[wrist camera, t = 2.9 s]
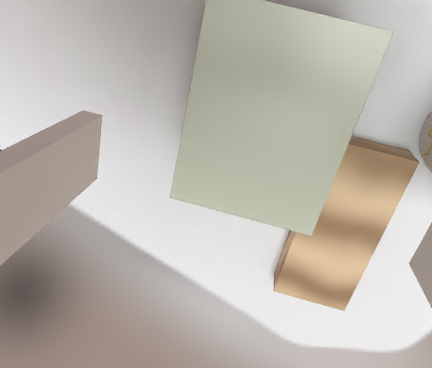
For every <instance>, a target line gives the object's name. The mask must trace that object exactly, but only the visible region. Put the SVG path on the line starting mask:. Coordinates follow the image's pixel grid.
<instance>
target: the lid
mask: <svg viewBox="0 0 432 368" xmlns="http://www.w3.org/2000/svg"><path fill="white" fill-rule="evenodd" d="M392 34H393V31H388V30H384V29H380V28H376V27H372V26H368V25H364V24H360V23H355V22H351V21H347V20H343V19H339V18H335V17H331V16H327V15H322V14H318V13H314V12H310V11H306V10H302V9H298V8H294V7H289V6H285V5H281V4H277V3H273V2H269V1H265V0H206V3H205V8H204V14H203V19H202V25H201V30H200V36H199V41H198V47H197V52H196V57H195V63H194V68H193V74H192V79H191V85H190V90H189V96H188V101H187V106H186V112H185V117H184V123H183V128H182V134H181V139H180V145H179V150H178V155H177V161H176V166H175V172H174V177H173V183H172V188H171V194H170V198H173V199H177V200H181V201H184V202H188V203H192V204H195V205H199V206H203V207H206V208H210V209H214V210H217V211H221V212H225V213H228V214H232V215H236V216H240V217H243V218H247V219H251V220H254V221H258V222H262V223H265V224H269V225H273V226H276V227H280V228H284V229H287V230H291V231H295V232H299V233H302V234H306V235H310V236H312V233H313V231H314V228H315V226H316V223H317V221H318V218H319V216H320V213H321V211H322V208H323V206H324V203H325V201H326V198H327V196H328V193H329V191H330V188H331V186H332V183H333V181H334V178H335V176H336V173H337V171H338V168H339V166H340V163H341V161H342V158H343V156H344V153H345V151H346V148H347V146H348V143H349V141H350V138H351V136H352V134H353V131H354V129H355V126H356V124H357V121H358V119H359V116H360V114H361V111H362V109H363V106H364V104H365V101H366V99H367V96H368V94H369V91H370V89H371V86H372V84H373V81H374V79H375V76H376V74H377V71H378V69H379V66H380V64H381V61H382V59H383V56H384V54H385V51H386V49H387V46H388V44H389V41H390V39H391V36H392Z"/></svg>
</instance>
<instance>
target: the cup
mask: <svg viewBox="0 0 432 368" xmlns="http://www.w3.org/2000/svg"><path fill="white" fill-rule="evenodd" d="M419 149H420V154H421V157H422V159H423V161H424V163H425V165H426V166H427V167H428V168H429V170H430V171H431V172H432V112H431V113H430V115H429V116H428V118H427V119H426V121H425V123H424V125H423V127H422V130H421V134H420V139H419Z"/></svg>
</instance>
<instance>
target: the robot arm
mask: <svg viewBox="0 0 432 368" xmlns="http://www.w3.org/2000/svg"><path fill="white" fill-rule="evenodd" d="M101 124H102V115H99V114H95V113H91V112H87V111H84V110H83V111H81V112H79V113H77V114H75V115H73V116H71V117H69V118H67V119H65V120H63V121H61V122H59V123H57V124H55V125H53V126H51V127H49V128H46V129H44V130H42V131H40V132H38V133H36V134H34V135H32V136H30V137H28V138H26V139H24V140H22V141H20V142H18V143H16V144H14V145H12V146H10V147H8V148H6V149H4V150H0V265H1V264H2V263H4V262H5V261H6V260H7V259H8V258H9V257H10V256H11V255H12V254H14V253H15V252H16V251H17V250H18V249H19V248H20V247H21V246H22V245H24V244H25V243H26V242H27V241H28V240H29V239H30V238H31V237H32V236H34V234H36V233H37V232H38V231H39V230H40V229H41V228H43V227H44V226H45V225H46V224H47V223H48V222H49V221H50V220H51V219H53V218H54V217H55V216H56V215H57V214H58V213H59V212H60V211H61V210H63V209H64V208H65V207H66V206H67V205H68V204H69V203H70V202H71V201H73V200H74V199H75V198H76V197H77V196H78V195H79V194H80V193H81V192H83V191H84V190H85V189H86V188H87V187H88V186H89V185H90V184H91V183H93V182H94V181H95V180H96V179H97V171H98V159H99V147H100V135H101ZM409 264H410V266H411V268H412V270H413V272H414V274H415V276H416V278H417V280H418V282H419V284H420V286H421V288H422V290H423V292H424V294H425V296H426V298H427V300H428V301H429V303H430V305H431V307H432V223H431V225H430V227H429V229H428V230H427V232H426V234H425V236H424V238H423V239H422V241H421V243H420V245H419V247H418V248H417V250H416V252H415V254H414V255H413V257H412V259H411V261H410V263H409Z"/></svg>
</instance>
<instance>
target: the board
mask: <svg viewBox="0 0 432 368" xmlns="http://www.w3.org/2000/svg"><path fill="white" fill-rule="evenodd" d="M418 164H419V161H418V160H417V159H416V158H415V157H414V156H413V155H412V154H411V152H410V151H407V150H403V149H399V148H395V147H391V146H387V145H383V144H380V143H376V142H372V141H368V140H364V139H360V138H356V137H352V136H351V138H350V141H349V143H348V146H347V148H346V151H345V153H344V156H343V158H342V161H341V163H340V166H339V168H338V171H337V173H336V176H335V178H334V181H333V183H332V186H331V188H330V191H329V193H328V196H327V198H326V201H325V203H324V206H323V208H322V211H321V213H320V216H319V218H318V221H317V223H316V226H315V228H314V231H313V233H312V236H310V235H306V234H302V233H299V232H295V231H291V230H290V233H289V236H288V238H287V241H286V244H285V246H284V249H283V252H282V255H281V257H280V260H279V263H278V265H277V268H276V271H275V274H274V291H275V292H278V293H282V294H286V295H289V296H293V297H296V298H300V299H304V300H307V301H311V302H314V303H318V304H321V305H325V306H329V307H332V308H336V309H339V310H343V311H344V310H345V308H346V306H347V304H348V302H349V300H350V298H351V296H352V294H353V292H354V290H355V288H356V286H357V284H358V282H359V280H360V279H361V277H362V275H363V273H364V271H365V269H366V267H367V265H368V263H369V261H370V259H371V257H372V255H373V253H374V251H375V249H376V247H377V245H378V243H379V241H380V239H381V237H382V235H383V233H384V231H385V229H386V227H387V225H388V223H389V221H390V219H391V217H392V215H393V213H394V211H395V209H396V207H397V205H398V203H399V201H400V199H401V197H402V195H403V193H404V191H405V189H406V187H407V185H408V183H409V181H410V179H411V177H412V176H413V174H414V172H415V170H416V168H417V166H418Z"/></svg>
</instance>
